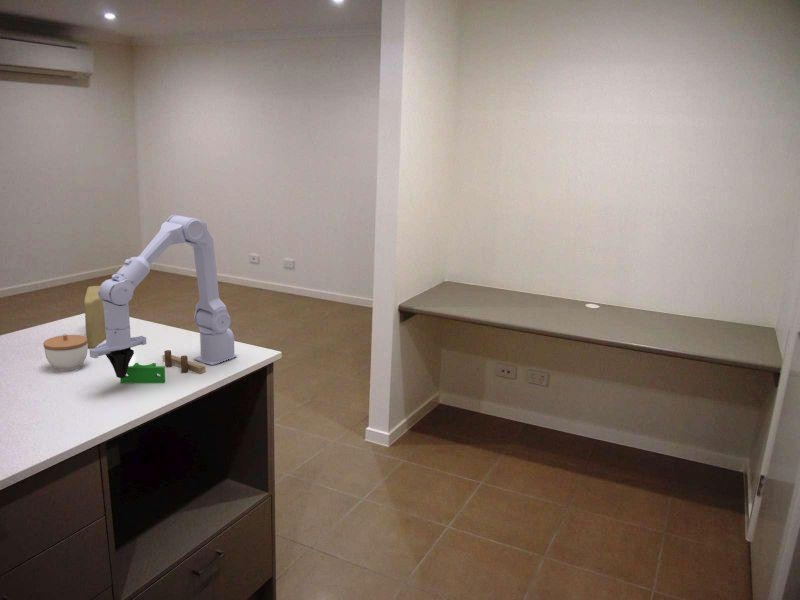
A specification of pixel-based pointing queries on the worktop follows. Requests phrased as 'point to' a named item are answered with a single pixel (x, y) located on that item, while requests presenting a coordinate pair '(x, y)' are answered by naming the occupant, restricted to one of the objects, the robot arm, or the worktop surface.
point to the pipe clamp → (144, 374)
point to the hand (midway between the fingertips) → (121, 376)
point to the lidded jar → (66, 351)
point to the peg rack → (182, 363)
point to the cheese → (94, 317)
